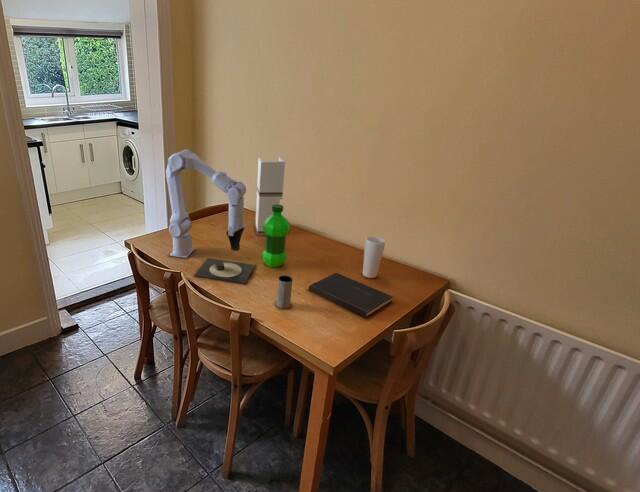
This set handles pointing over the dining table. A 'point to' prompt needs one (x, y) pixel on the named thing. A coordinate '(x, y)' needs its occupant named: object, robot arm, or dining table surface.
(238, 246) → the eye right
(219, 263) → the eye left
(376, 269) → the drinking glass
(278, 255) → the plastic bottle
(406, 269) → the dining table surface
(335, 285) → the hardcover book
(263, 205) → the white rectangular tower
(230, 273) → the board
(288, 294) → the grey metal cylinder
